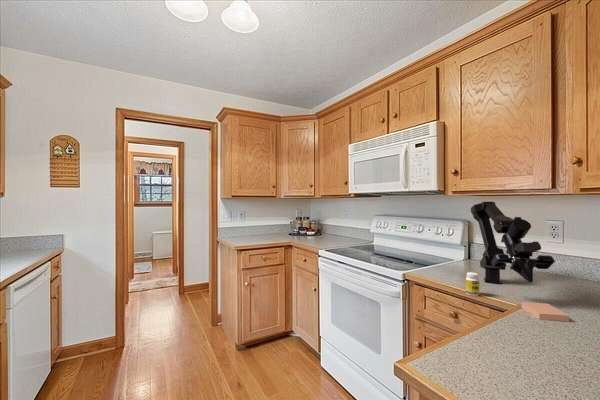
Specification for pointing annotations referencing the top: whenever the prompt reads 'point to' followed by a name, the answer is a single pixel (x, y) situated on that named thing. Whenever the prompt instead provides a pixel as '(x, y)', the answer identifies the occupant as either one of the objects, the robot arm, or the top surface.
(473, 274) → the supplement bottle
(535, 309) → the tile
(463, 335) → the top surface
